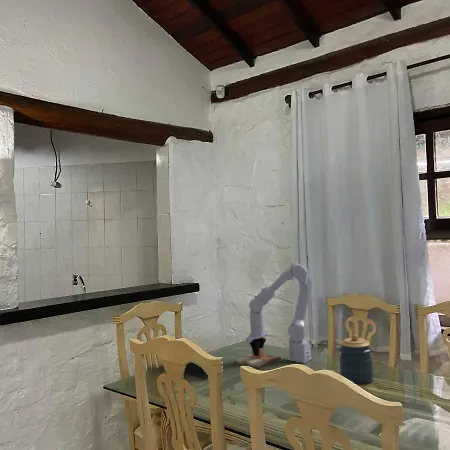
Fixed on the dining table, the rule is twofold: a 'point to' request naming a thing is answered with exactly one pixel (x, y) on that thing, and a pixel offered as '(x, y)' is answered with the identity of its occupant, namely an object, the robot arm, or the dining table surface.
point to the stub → (260, 356)
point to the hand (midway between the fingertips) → (257, 354)
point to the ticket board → (256, 361)
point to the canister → (356, 360)
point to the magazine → (195, 370)
